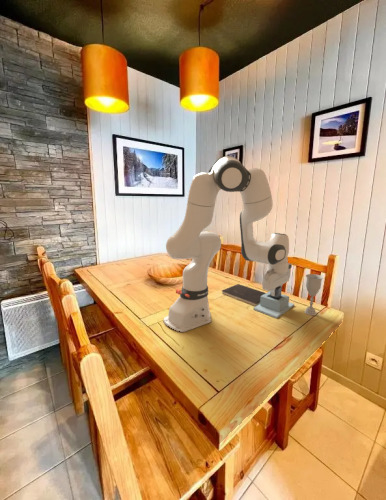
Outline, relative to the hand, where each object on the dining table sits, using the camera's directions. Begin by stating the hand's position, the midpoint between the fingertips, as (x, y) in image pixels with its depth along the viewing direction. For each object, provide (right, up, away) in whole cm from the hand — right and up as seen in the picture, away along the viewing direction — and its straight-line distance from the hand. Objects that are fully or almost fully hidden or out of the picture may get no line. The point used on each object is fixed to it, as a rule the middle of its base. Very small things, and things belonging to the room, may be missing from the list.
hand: (275, 294), depth 110 cm
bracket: (0, -4, +1) cm, 4 cm away
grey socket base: (0, -7, +2) cm, 7 cm away
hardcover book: (-10, -5, +17) cm, 21 cm away
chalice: (+15, -8, -3) cm, 18 cm away
